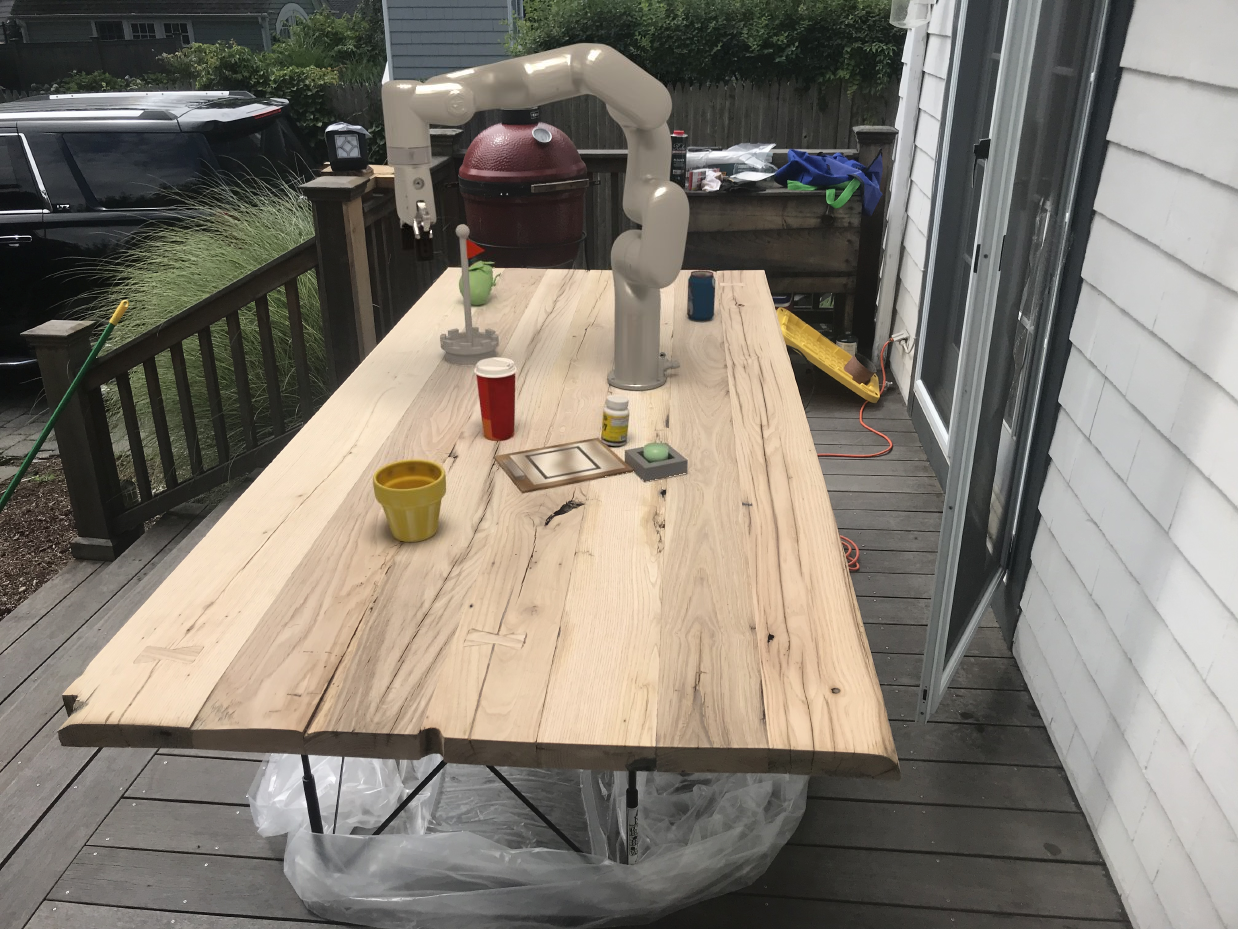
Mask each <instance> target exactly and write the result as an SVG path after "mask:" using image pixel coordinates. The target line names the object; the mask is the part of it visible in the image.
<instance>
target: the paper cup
mask: <svg viewBox="0 0 1238 929" xmlns="http://www.w3.org/2000/svg"><path fill="white" fill-rule="evenodd" d="M515 364H516V363H515V362H514V361H513V360H512V359H511V358H506V357H496V356H495V358H487V359H483V360H481V361H479V362H478V363H477V364H476V365H475V368H474V369H473V372H474V374H475V375H476V376H475V377H476V383H477V392H478V400H479V406H480V407H479V408H480V416H481V423H482V429H483V430H482V432H483V436H484V438H485V439H487V440H489V441H494V442H502V441H507V440H510V439H511V438H512V439H513V438H514V436H515V421H516V420H515V416H516V415H515V413H516V373H517V371H518V369H517V368H518V367H517V366H516V365H515Z"/></svg>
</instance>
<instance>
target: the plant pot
mask: <svg viewBox="0 0 1238 929" xmlns="http://www.w3.org/2000/svg"><path fill="white" fill-rule="evenodd" d="M372 485H373V490H374V496H375V500H376V502H378V503H379V504H380V505H381V506H382V507H381V508H382V510H383V512H384V515H385V517H386V520H387V523H388V526H389V529H390V531H391V534H392V536H393V537H394V538H395V540H398V541H400V542H403V543H404V542H406V543H415V542H416V543H418V542H421V541H424V540H427V539H430V538H431V537H433V536H434V535H435V534H436V532H437V530H438V526H439V519H440V513H441V505H442V499H443V498H444V496H445V495H446V494H447V479H446V471H445V468H444V467H443V466H442V465H441V464H439V463H437V462H435V461H432V460H428V459H419V458H418V459H417V458H413V459H402V460H401V459H400V460H398V461H393V462H391V463H388V464H385V465H383V466H381V467H379V469H377V470H376V471H375V472H374V474H373V477H372Z"/></svg>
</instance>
